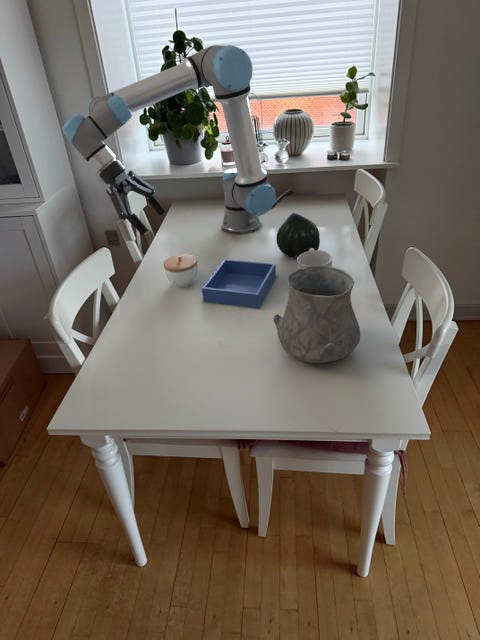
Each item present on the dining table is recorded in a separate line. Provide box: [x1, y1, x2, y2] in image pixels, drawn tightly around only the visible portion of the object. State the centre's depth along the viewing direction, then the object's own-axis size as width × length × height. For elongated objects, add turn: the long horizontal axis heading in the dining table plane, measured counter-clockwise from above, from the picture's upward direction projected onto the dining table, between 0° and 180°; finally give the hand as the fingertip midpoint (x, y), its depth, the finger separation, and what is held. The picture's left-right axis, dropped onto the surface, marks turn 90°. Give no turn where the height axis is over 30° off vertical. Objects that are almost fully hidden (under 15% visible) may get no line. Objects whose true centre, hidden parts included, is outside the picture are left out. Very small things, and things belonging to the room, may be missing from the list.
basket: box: [201, 258, 277, 310], centre depth 141 cm, size 20×18×5 cm
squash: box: [275, 212, 321, 259], centre depth 157 cm, size 14×15×15 cm
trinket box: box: [163, 253, 198, 288], centre depth 146 cm, size 11×11×9 cm
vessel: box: [273, 266, 361, 364], centre depth 110 cm, size 22×22×20 cm
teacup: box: [296, 248, 333, 270], centre depth 143 cm, size 14×11×8 cm
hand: (154, 222), depth 143 cm, fingers open, 13 cm apart
